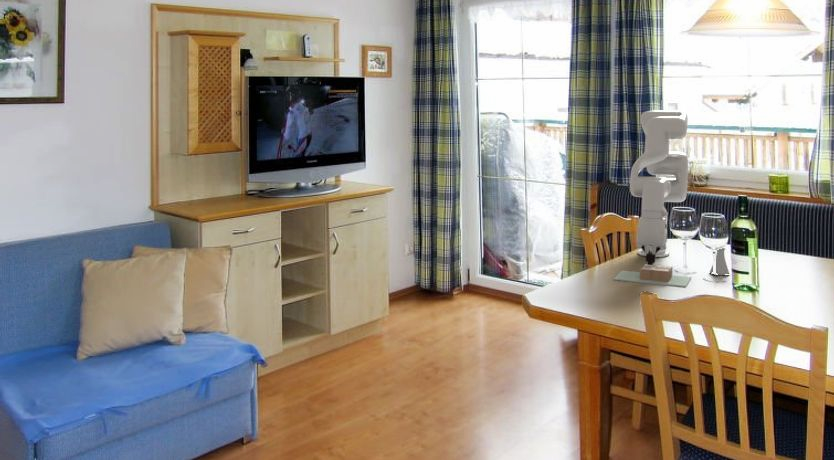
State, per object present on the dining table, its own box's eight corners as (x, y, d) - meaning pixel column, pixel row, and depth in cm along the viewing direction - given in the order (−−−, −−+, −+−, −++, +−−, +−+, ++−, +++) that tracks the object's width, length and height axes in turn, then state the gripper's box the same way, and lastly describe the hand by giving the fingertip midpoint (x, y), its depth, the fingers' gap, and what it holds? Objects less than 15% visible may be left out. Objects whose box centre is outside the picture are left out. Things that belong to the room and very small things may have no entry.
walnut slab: (644, 263, 282) (672, 266, 277) (644, 274, 283) (672, 276, 278) (640, 268, 275) (668, 271, 270) (639, 279, 276) (668, 282, 271)
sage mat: (621, 271, 289) (621, 270, 289) (691, 278, 277) (691, 277, 277) (614, 280, 277) (614, 278, 277) (685, 287, 266) (686, 285, 266)
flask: (726, 271, 286) (727, 245, 284) (732, 276, 279) (734, 250, 277) (706, 271, 287) (707, 245, 285) (712, 276, 280) (713, 250, 278)
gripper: (675, 214, 273) (673, 263, 277) (633, 211, 280) (631, 260, 283) (672, 217, 266) (670, 268, 270) (629, 214, 273) (627, 264, 277)
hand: (650, 264), depth 277 cm, fingers closed
